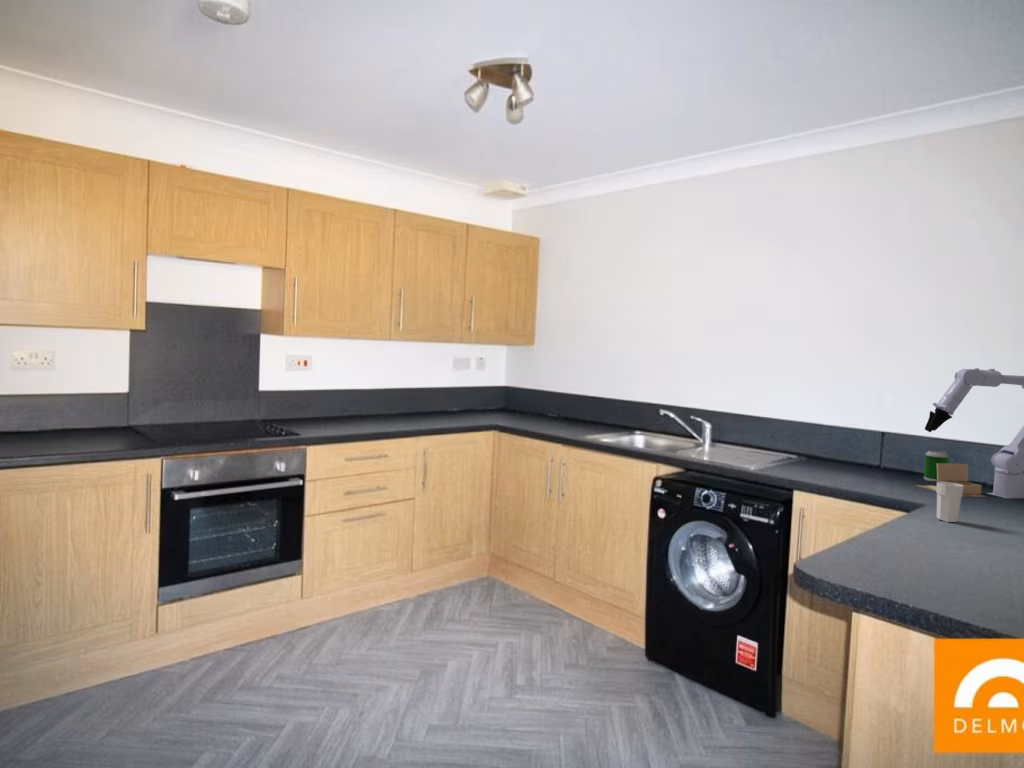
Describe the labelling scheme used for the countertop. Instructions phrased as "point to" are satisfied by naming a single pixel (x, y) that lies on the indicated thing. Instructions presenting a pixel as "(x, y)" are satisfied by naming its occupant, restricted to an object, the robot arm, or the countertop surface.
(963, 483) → the parcel box
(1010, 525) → the countertop surface
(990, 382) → the robot arm
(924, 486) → the board
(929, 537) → the countertop surface
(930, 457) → the soda can
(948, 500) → the cup
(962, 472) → the lid flap
